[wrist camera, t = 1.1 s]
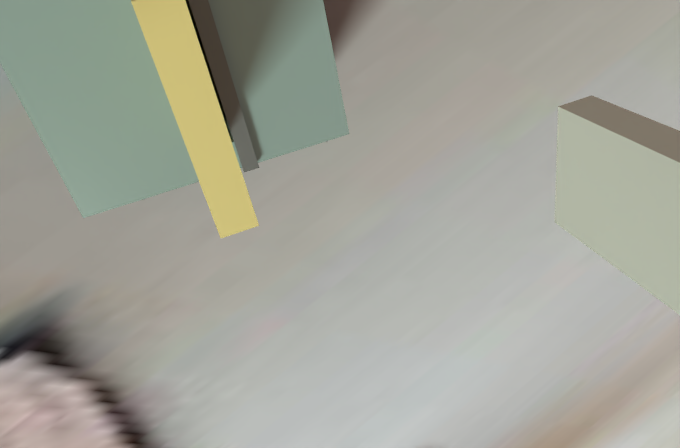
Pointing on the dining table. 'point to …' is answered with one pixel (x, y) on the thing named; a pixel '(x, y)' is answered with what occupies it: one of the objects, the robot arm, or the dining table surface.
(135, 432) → the dining table surface
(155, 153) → the dispenser
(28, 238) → the dining table surface
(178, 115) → the pale yellow plank
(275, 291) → the dining table surface
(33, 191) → the dining table surface
